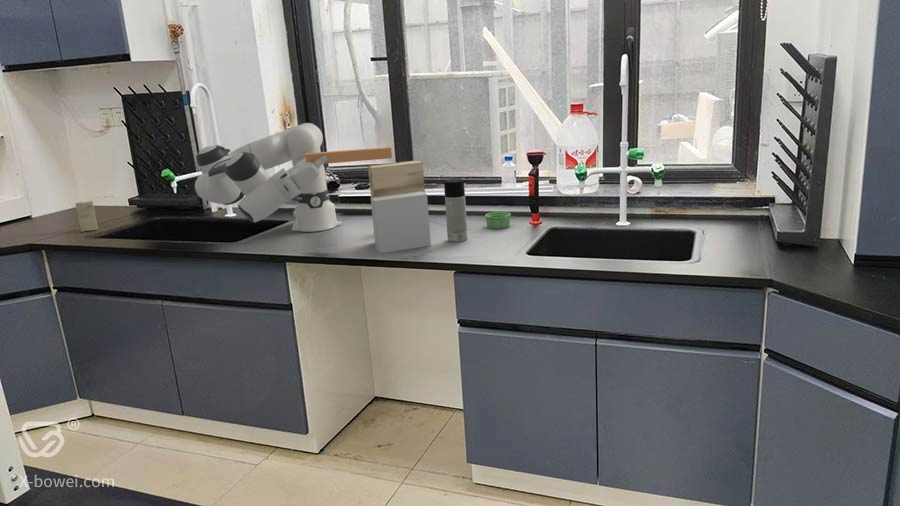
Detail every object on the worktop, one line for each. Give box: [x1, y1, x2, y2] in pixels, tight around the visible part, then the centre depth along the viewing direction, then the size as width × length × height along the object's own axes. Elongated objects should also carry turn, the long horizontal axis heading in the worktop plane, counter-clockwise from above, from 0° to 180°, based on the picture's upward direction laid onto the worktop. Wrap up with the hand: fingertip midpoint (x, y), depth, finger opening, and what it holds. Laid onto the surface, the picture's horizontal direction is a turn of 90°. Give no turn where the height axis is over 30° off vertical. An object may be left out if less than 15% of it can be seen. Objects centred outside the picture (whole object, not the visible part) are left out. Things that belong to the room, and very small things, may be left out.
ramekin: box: [485, 211, 511, 230], centre depth 231 cm, size 9×9×4 cm
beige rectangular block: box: [367, 160, 426, 199], centre depth 218 cm, size 6×17×26 cm, turn 109°
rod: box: [305, 146, 393, 165], centre depth 200 cm, size 3×26×3 cm, turn 108°
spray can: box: [443, 178, 468, 243], centre depth 214 cm, size 7×7×20 cm
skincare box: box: [75, 200, 99, 232], centre depth 271 cm, size 6×4×12 cm
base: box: [370, 191, 432, 254], centre depth 210 cm, size 6×17×17 cm, turn 109°
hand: (325, 156), depth 198 cm, fingers closed on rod, 3 cm apart
